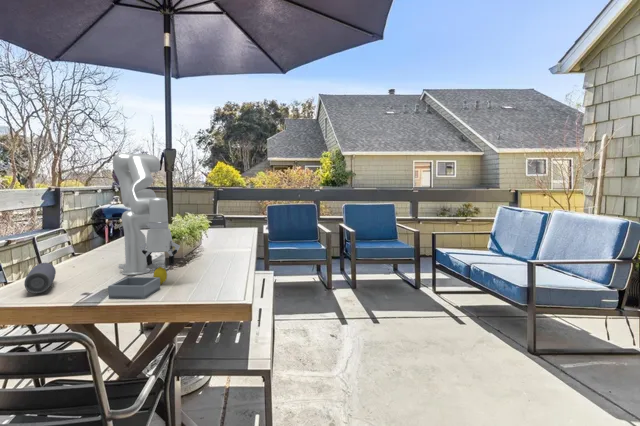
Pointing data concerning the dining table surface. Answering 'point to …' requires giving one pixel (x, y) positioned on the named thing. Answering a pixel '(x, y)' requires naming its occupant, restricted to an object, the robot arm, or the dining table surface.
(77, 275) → the dining table surface
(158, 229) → the robot arm
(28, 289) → the bluetooth speaker
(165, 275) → the lemon
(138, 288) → the grey shallow tray
